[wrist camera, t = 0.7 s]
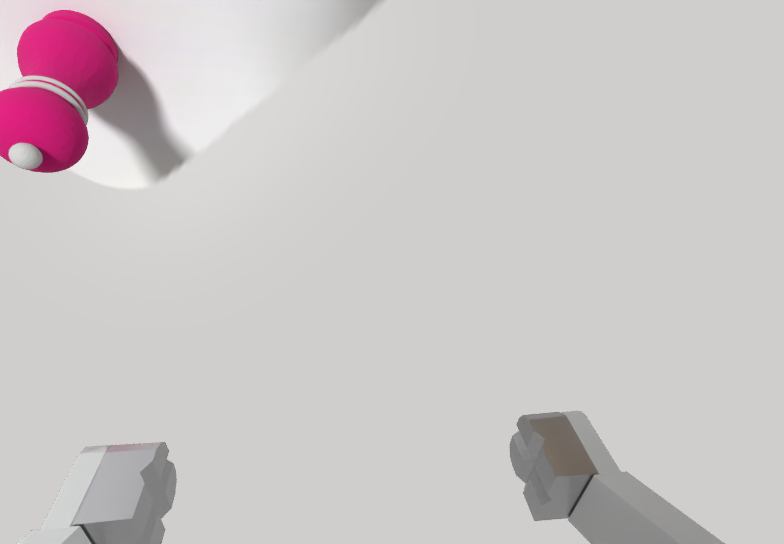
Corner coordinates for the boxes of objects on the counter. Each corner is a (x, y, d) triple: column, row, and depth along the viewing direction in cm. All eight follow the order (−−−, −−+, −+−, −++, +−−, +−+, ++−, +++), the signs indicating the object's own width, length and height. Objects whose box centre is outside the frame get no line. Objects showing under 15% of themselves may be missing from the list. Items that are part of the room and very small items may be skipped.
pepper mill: (50, -17, 38) (-32, 88, 25) (137, 41, 43) (105, 154, 30) (19, 49, 41) (-68, 173, 28) (104, 96, 45) (63, 220, 33)
